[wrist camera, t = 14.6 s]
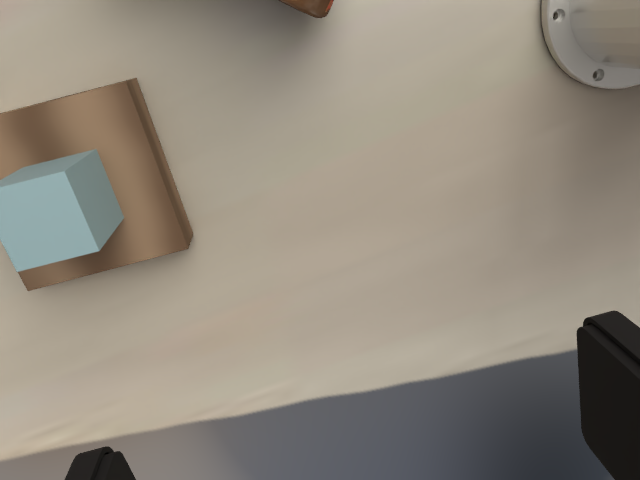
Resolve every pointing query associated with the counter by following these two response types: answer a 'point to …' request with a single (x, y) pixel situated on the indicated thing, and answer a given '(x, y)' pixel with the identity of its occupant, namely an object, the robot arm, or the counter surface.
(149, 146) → the base
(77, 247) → the block
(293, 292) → the counter surface
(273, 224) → the counter surface
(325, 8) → the wooden speaker
